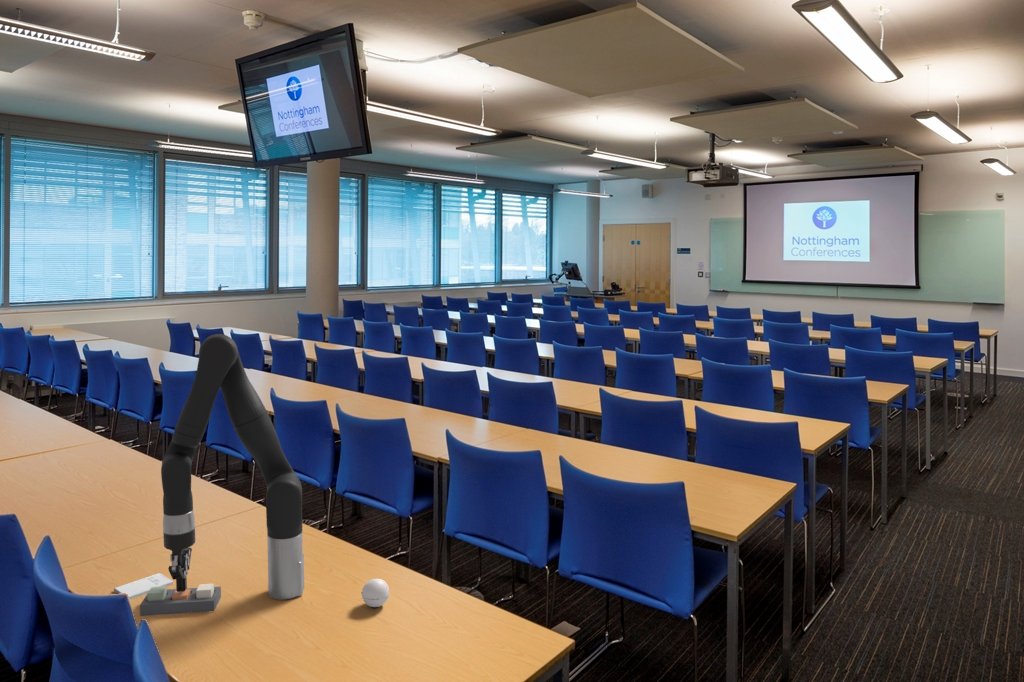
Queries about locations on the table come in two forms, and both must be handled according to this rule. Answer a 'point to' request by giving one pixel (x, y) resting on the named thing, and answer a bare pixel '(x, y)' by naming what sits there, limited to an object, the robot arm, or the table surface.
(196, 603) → the keypad
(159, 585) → the external hard drive
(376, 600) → the white ovoid
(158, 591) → the sage button
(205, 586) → the cream button
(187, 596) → the terracotta button
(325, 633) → the table surface
